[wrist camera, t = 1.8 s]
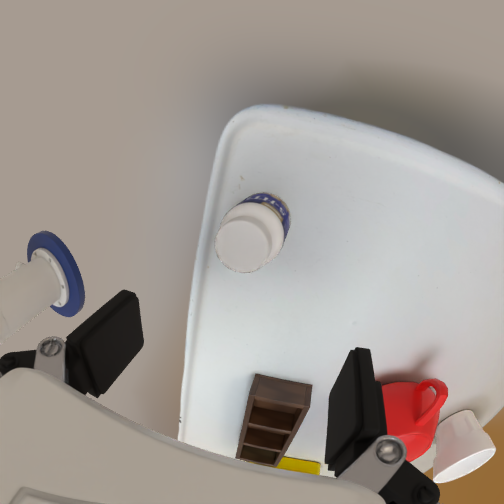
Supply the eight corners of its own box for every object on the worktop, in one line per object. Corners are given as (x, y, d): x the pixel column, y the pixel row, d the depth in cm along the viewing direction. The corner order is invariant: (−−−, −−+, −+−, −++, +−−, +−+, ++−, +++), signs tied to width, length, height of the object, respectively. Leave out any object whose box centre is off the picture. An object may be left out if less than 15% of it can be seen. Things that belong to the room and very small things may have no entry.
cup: (490, 407, 29) (505, 448, 19) (447, 442, 35) (454, 482, 25) (462, 397, 30) (478, 447, 20) (413, 436, 35) (419, 483, 25)
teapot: (384, 339, 29) (402, 419, 18) (467, 359, 27) (494, 421, 16) (309, 437, 39) (300, 495, 28) (381, 447, 38) (383, 499, 26)
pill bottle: (296, 199, 26) (287, 222, 18) (284, 248, 28) (270, 290, 20) (243, 186, 27) (211, 203, 19) (234, 235, 29) (202, 270, 21)
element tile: (254, 449, 44) (249, 468, 40) (323, 462, 42) (321, 480, 38) (242, 470, 50) (237, 485, 46) (300, 482, 48) (297, 497, 44)
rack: (240, 442, 44) (235, 458, 41) (255, 373, 35) (248, 394, 32) (280, 451, 43) (276, 467, 39) (312, 384, 34) (310, 406, 30)
